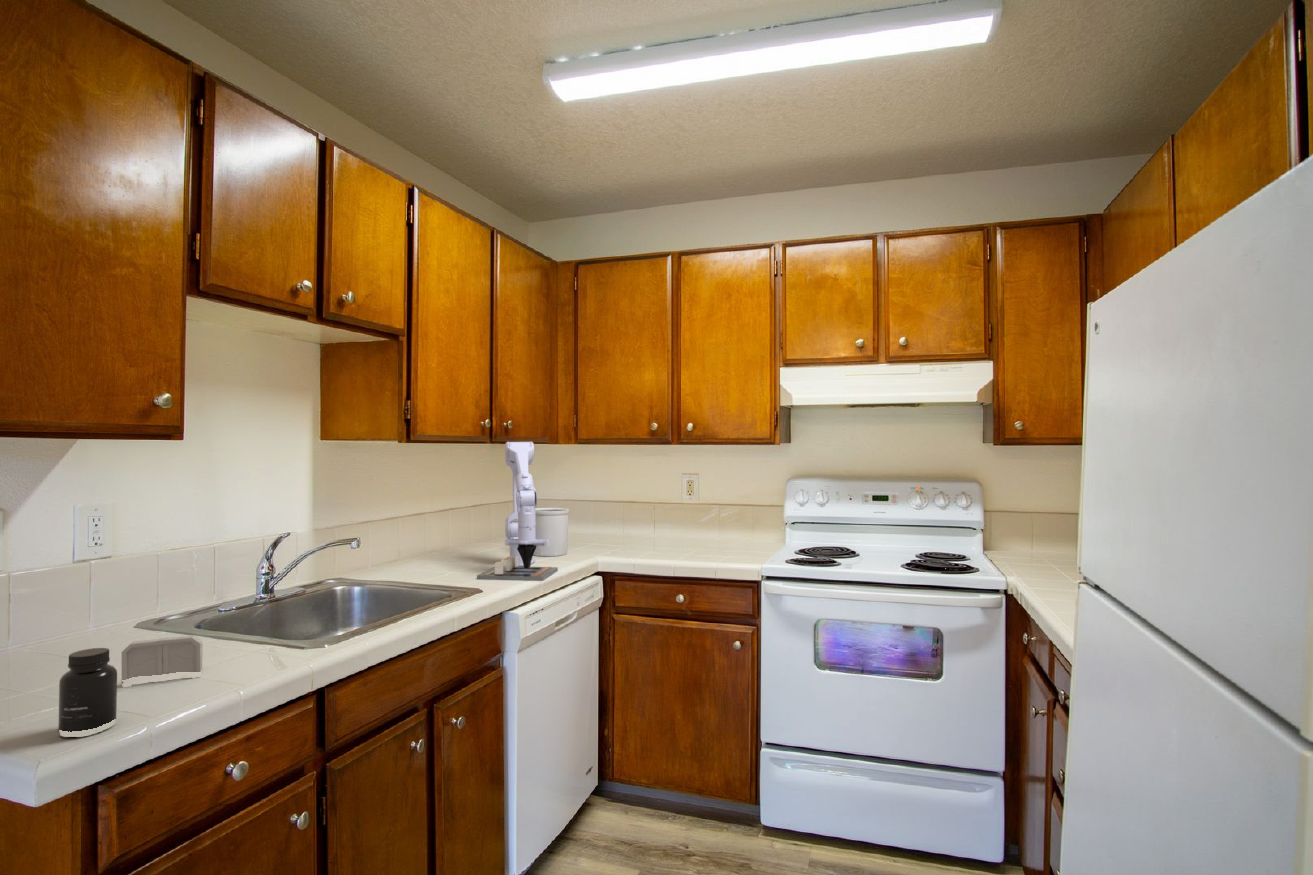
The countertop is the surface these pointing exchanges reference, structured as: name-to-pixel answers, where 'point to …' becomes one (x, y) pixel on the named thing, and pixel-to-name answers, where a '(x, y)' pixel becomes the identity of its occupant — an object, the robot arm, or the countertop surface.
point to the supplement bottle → (87, 691)
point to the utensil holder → (552, 531)
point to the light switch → (162, 656)
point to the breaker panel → (517, 572)
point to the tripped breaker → (508, 563)
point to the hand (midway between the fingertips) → (527, 567)
